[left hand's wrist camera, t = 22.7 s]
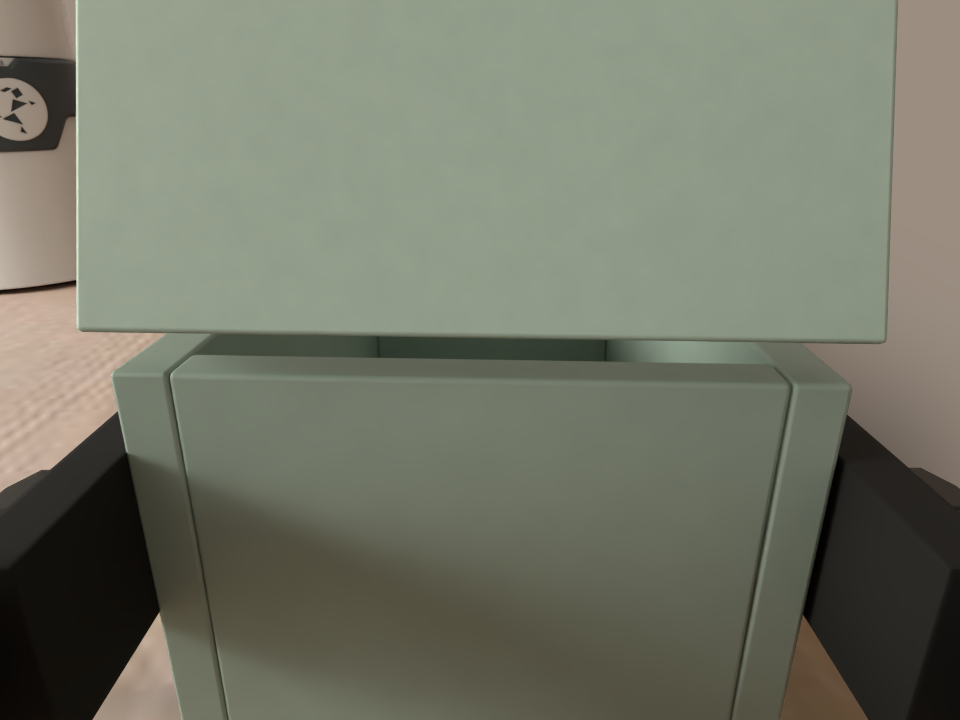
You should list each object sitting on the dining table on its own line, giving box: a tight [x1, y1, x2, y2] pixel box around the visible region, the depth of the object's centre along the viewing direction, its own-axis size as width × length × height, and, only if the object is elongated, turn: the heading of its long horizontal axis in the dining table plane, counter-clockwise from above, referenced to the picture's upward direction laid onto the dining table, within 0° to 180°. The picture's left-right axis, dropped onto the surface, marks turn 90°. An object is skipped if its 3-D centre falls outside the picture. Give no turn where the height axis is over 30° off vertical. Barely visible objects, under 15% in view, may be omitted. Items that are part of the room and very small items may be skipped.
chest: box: [111, 333, 852, 720], centre depth 17 cm, size 15×10×9 cm, turn 178°
